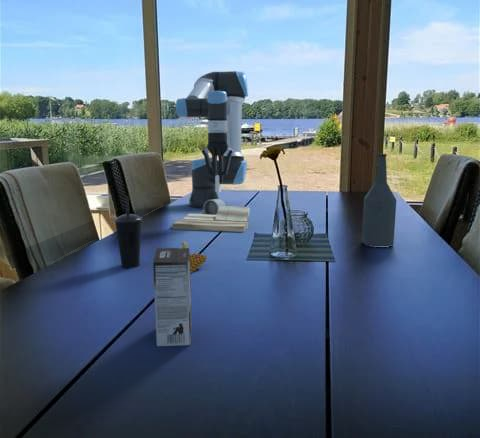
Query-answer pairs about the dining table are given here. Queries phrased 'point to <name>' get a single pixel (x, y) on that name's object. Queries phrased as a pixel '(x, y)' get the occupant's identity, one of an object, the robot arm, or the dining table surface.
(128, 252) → the drinking cup
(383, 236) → the bottle
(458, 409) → the dining table surface
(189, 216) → the plank
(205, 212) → the ceramic mug
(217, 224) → the laid board
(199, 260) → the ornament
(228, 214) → the plank
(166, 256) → the coffee box
